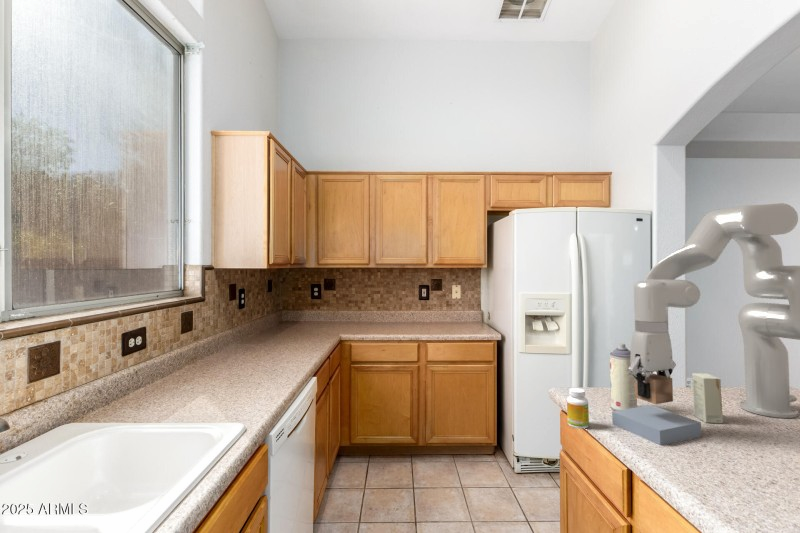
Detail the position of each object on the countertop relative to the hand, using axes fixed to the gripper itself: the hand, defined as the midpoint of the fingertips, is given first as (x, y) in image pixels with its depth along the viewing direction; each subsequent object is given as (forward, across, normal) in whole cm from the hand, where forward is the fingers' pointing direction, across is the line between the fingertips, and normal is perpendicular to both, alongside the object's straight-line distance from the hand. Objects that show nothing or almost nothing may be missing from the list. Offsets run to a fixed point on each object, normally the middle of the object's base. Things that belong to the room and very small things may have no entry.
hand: (653, 394), depth 104 cm
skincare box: (+9, -20, 0) cm, 22 cm away
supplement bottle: (+10, +16, -10) cm, 21 cm away
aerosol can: (+9, -5, -14) cm, 18 cm away
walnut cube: (+1, 0, 0) cm, 1 cm away
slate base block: (+10, 0, 0) cm, 10 cm away
